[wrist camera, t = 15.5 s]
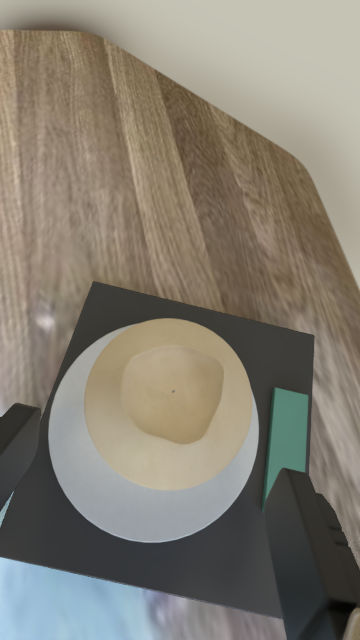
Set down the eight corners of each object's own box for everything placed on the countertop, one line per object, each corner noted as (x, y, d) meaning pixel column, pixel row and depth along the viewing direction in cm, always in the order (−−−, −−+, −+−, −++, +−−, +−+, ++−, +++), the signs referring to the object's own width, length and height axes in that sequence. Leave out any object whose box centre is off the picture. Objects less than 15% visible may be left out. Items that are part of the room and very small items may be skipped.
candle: (186, 362, 20) (227, 282, 11) (218, 453, 18) (301, 451, 9) (97, 389, 18) (57, 325, 9) (122, 490, 17) (102, 534, 8)
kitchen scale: (299, 345, 25) (320, 330, 22) (283, 604, 18) (311, 632, 15) (97, 296, 24) (91, 274, 21) (7, 542, 18) (-18, 560, 15)
